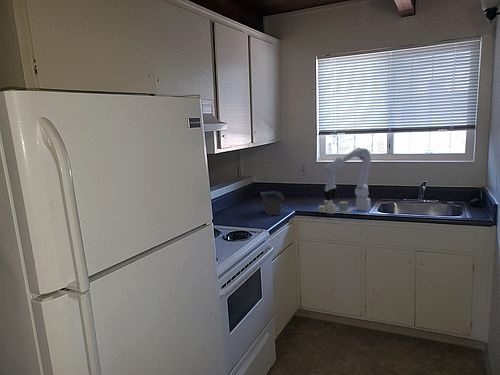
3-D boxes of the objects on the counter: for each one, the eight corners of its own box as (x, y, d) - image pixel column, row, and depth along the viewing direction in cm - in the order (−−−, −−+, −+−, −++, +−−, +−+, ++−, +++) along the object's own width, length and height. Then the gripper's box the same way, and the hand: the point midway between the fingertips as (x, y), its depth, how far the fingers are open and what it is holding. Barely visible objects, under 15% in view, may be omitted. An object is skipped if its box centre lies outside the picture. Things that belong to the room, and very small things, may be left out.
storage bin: (259, 210, 282) (259, 191, 279) (279, 208, 284) (279, 190, 282) (266, 217, 261) (265, 197, 258) (287, 215, 264) (287, 195, 261)
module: (335, 212, 266) (335, 203, 265) (332, 213, 262) (332, 205, 261) (328, 211, 269) (328, 203, 268) (326, 213, 265) (326, 204, 264)
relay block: (325, 211, 271) (325, 205, 270) (324, 212, 267) (323, 207, 266) (319, 210, 272) (319, 205, 272) (318, 212, 269) (318, 206, 268)
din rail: (352, 210, 269) (352, 201, 268) (348, 212, 263) (348, 203, 262) (324, 207, 282) (323, 198, 281) (319, 209, 276) (319, 201, 275)
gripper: (329, 178, 269) (329, 197, 272) (320, 182, 258) (321, 201, 260) (338, 179, 265) (338, 198, 268) (330, 182, 254) (330, 202, 256)
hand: (330, 199), depth 264 cm, fingers open, 7 cm apart
